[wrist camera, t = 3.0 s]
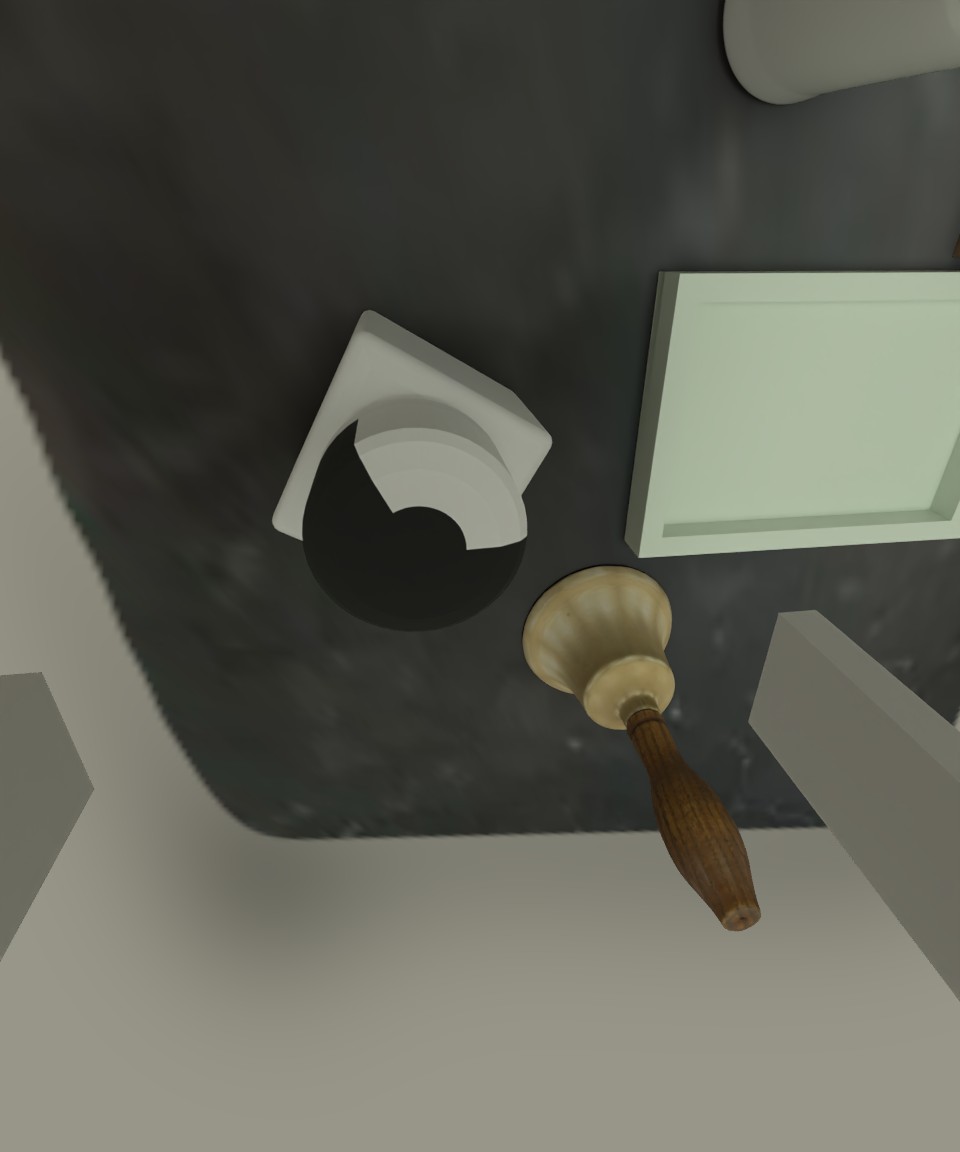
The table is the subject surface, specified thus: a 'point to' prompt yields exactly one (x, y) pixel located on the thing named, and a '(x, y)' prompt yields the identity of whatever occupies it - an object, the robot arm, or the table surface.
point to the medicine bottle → (412, 483)
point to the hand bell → (641, 717)
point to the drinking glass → (836, 44)
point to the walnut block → (957, 249)
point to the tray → (798, 412)
